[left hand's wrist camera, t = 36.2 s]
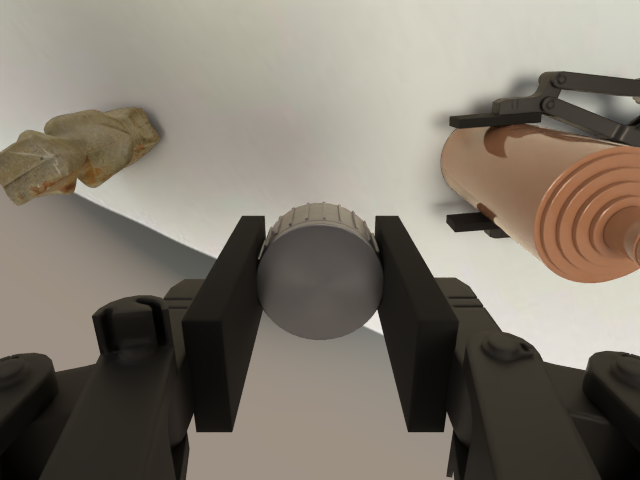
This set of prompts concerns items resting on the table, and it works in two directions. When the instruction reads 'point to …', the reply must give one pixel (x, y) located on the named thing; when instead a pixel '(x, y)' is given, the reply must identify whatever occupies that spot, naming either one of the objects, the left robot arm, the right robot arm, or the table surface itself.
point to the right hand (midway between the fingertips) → (452, 175)
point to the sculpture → (74, 152)
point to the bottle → (553, 195)
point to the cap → (320, 272)
